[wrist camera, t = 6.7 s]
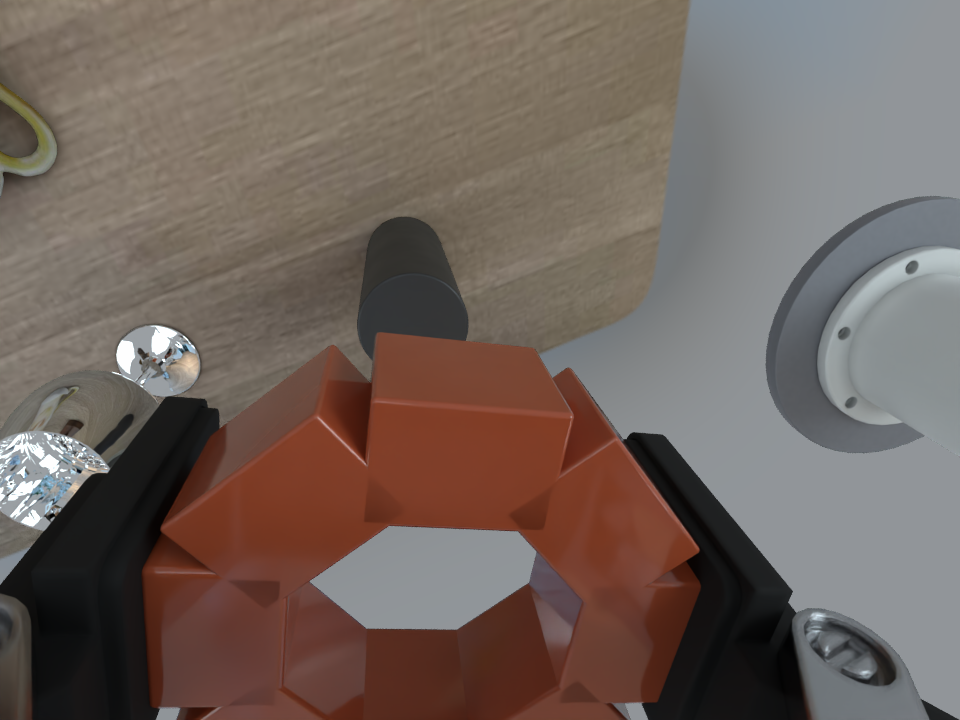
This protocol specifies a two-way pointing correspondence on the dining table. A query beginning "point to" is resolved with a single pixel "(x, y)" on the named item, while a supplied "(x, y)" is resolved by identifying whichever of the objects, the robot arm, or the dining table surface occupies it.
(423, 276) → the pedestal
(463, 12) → the dining table surface
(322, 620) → the ring
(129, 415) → the wineglass
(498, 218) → the dining table surface
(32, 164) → the mug
